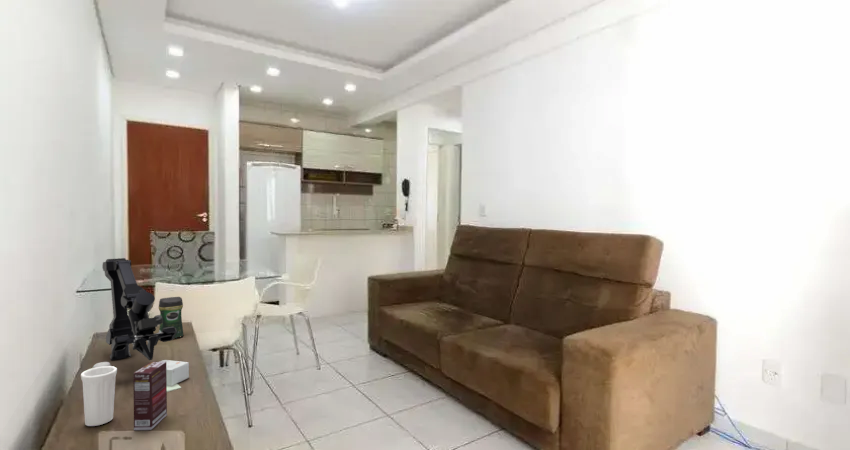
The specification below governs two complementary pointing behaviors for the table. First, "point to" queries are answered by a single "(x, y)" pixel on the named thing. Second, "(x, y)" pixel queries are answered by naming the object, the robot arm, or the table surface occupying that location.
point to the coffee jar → (171, 314)
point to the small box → (176, 371)
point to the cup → (98, 394)
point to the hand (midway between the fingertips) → (151, 359)
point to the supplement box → (150, 395)
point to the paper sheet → (173, 387)
